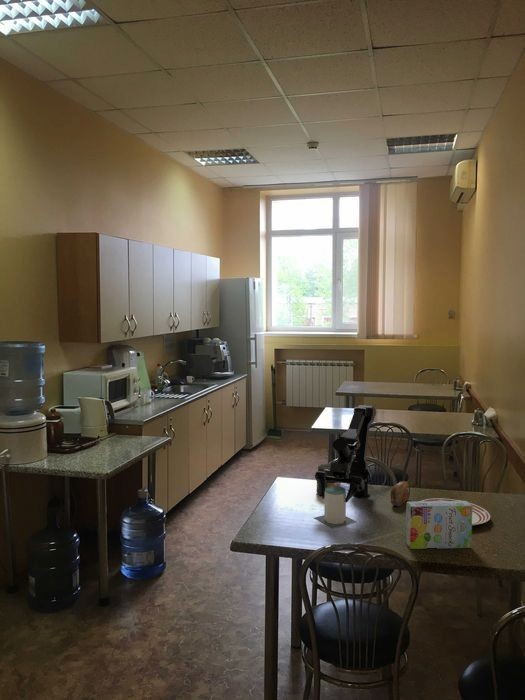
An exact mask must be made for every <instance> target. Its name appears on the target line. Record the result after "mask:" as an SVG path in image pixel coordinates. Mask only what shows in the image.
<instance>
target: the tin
mask: <svg viewBox="0 0 525 700" xmlns="http://www.w3.org/2000/svg"><path fill="white" fill-rule="evenodd" d="M410 497H411V485H410V482H409V481H404V480H403V481H402V480H401V481H399V482H398V483H396V484H395V485H393V486H392V487H391V490H390V504H391V505H392V506H395V507H401V506H403V505H404V504H405V503H406V501H407V502H409V499H410ZM403 503H404V504H403Z"/></svg>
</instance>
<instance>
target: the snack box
mask: <svg viewBox="0 0 525 700" xmlns="http://www.w3.org/2000/svg"><path fill="white" fill-rule="evenodd" d="M468 502H469V501H467V500H460V501H422V500H420V501H407V502H405V503H406V505H405V506H406V507H405V508H406V509H405V511H406V512H405V515H406V516H405V518H406V519H405V543H406V545H407V546H408V548H409V549H410V550H417V549H418V550H421V549H422V550H424V549H425V550H427V548H437V549H471V548H472V544H473V543H472V541H473V540H472V539H473V538H472V536H473V535H472V534H473V533H472V532H473V526H472V505H471V504H469V503H470V502H469V503H468Z"/></svg>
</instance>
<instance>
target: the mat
mask: <svg viewBox="0 0 525 700" xmlns="http://www.w3.org/2000/svg"><path fill="white" fill-rule="evenodd" d="M313 519H314V520H316V521H317V522H319V523H320V524H321V523H322V524H323V525H325V526H327V527H329V528H331V529H332V530H333V529H337V528H340V527H343V526H347V525H348V526H349V525H352V524H353V525H354V524H356V523H358V521H356V520H354V519H352V518H350V517H348V516H346V520H345V522H344V523H341V524H332V523H328V522H326V521H325V520H324V514H323V515H319V516H315V517H313Z"/></svg>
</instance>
